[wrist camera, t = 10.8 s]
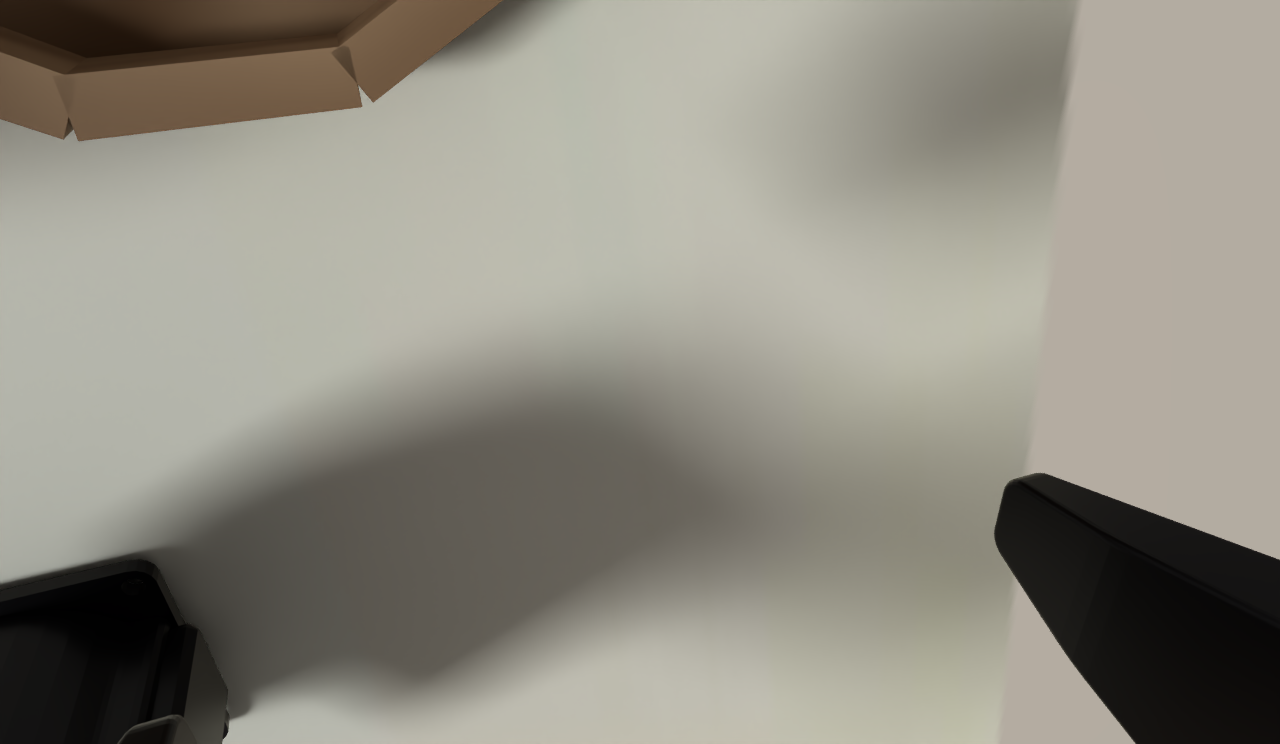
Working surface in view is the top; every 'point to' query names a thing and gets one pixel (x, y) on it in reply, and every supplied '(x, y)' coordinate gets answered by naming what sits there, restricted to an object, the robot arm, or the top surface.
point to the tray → (208, 59)
